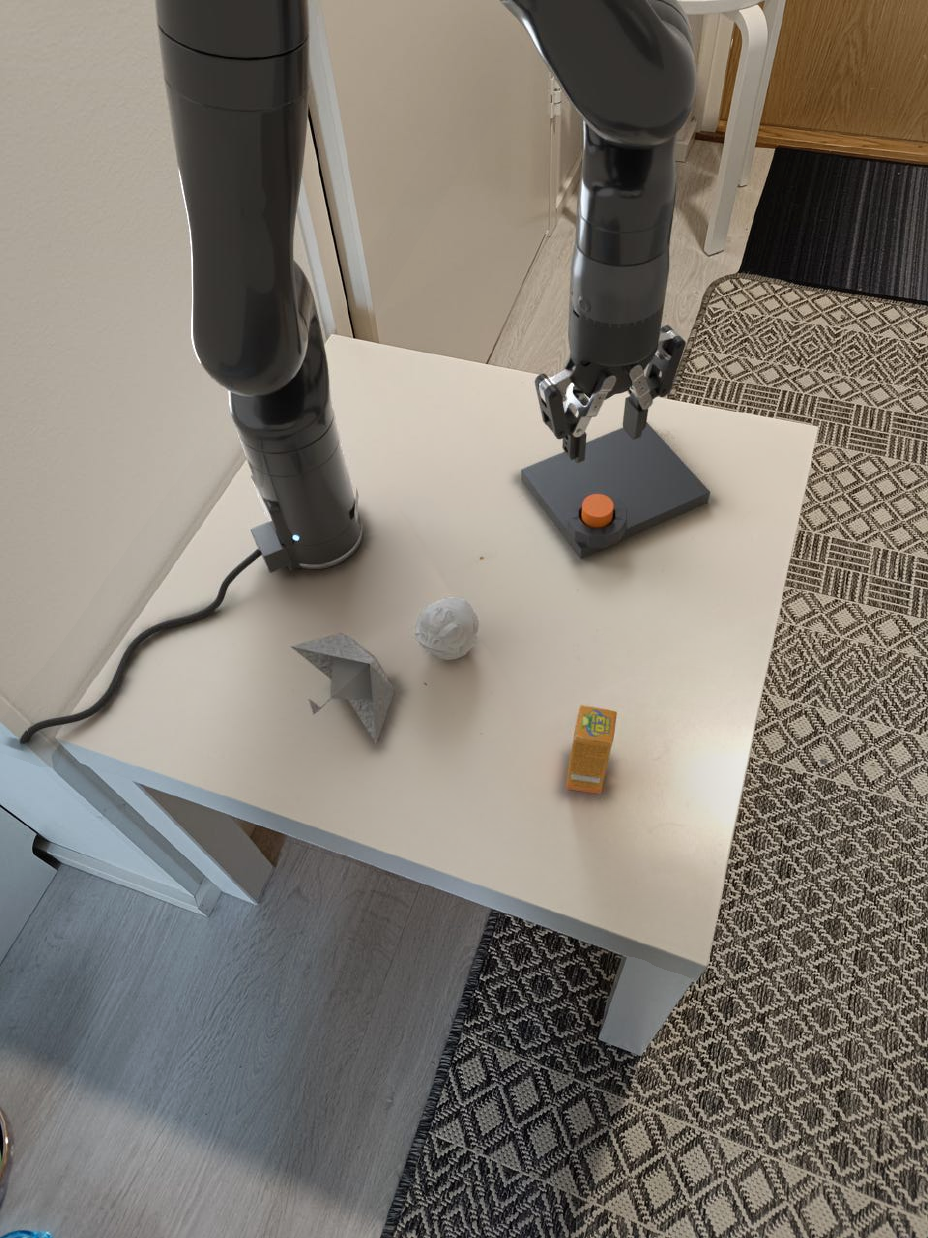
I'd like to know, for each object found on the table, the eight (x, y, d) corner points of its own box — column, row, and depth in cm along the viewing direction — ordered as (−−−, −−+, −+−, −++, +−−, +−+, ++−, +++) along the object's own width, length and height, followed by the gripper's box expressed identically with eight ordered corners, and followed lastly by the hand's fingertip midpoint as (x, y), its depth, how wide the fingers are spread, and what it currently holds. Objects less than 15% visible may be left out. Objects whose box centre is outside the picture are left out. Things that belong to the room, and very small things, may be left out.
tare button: (591, 532, 92) (592, 521, 91) (575, 512, 94) (576, 500, 93) (618, 521, 93) (619, 509, 92) (602, 500, 95) (603, 489, 93)
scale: (585, 566, 94) (586, 545, 91) (520, 480, 101) (520, 457, 98) (713, 509, 97) (719, 486, 94) (642, 429, 105) (645, 406, 102)
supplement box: (604, 796, 79) (613, 745, 71) (565, 790, 80) (569, 739, 72) (608, 762, 81) (617, 709, 73) (570, 756, 82) (575, 702, 74)
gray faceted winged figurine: (432, 691, 85) (374, 753, 79) (400, 712, 90) (343, 772, 84) (347, 596, 84) (281, 651, 78) (319, 623, 89) (255, 677, 83)
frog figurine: (405, 665, 88) (396, 626, 83) (439, 612, 92) (433, 571, 86) (460, 689, 87) (455, 650, 81) (492, 634, 90) (490, 593, 84)
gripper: (667, 238, 75) (646, 395, 89) (515, 294, 72) (517, 447, 86) (721, 286, 71) (690, 442, 85) (562, 347, 68) (556, 499, 82)
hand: (603, 444), depth 85 cm, fingers open, 5 cm apart
